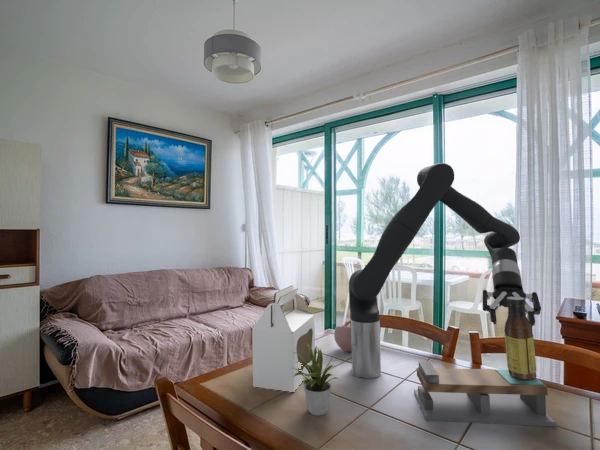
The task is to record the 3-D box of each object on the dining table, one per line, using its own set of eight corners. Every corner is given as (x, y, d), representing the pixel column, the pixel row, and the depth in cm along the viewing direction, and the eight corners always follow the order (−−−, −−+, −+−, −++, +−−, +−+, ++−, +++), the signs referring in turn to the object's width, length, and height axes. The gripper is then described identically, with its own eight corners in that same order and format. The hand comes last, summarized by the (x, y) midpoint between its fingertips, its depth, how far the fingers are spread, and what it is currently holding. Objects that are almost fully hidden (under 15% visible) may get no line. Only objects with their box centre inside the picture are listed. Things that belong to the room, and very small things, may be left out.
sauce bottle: (527, 371, 89) (524, 295, 89) (542, 381, 83) (538, 299, 83) (501, 371, 90) (498, 295, 90) (514, 381, 83) (510, 300, 84)
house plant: (279, 401, 93) (278, 341, 93) (324, 391, 98) (323, 334, 98) (300, 429, 79) (299, 358, 80) (351, 415, 85) (349, 349, 85)
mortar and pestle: (369, 347, 134) (368, 318, 134) (361, 358, 123) (360, 326, 123) (339, 344, 139) (339, 316, 139) (330, 354, 128) (329, 323, 128)
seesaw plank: (425, 391, 84) (424, 375, 84) (416, 375, 94) (416, 360, 94) (547, 395, 80) (546, 378, 81) (525, 377, 90) (524, 362, 91)
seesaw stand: (425, 420, 82) (425, 396, 82) (414, 392, 96) (413, 372, 96) (556, 426, 78) (555, 401, 78) (524, 397, 92) (523, 376, 92)
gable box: (293, 393, 97) (291, 295, 98) (252, 388, 101) (250, 294, 102) (315, 364, 118) (313, 284, 119) (280, 361, 122) (279, 283, 123)
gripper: (480, 269, 105) (483, 314, 95) (535, 270, 99) (545, 319, 88) (480, 284, 110) (483, 329, 99) (533, 286, 104) (542, 334, 93)
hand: (512, 324), depth 94 cm, fingers open, 8 cm apart
